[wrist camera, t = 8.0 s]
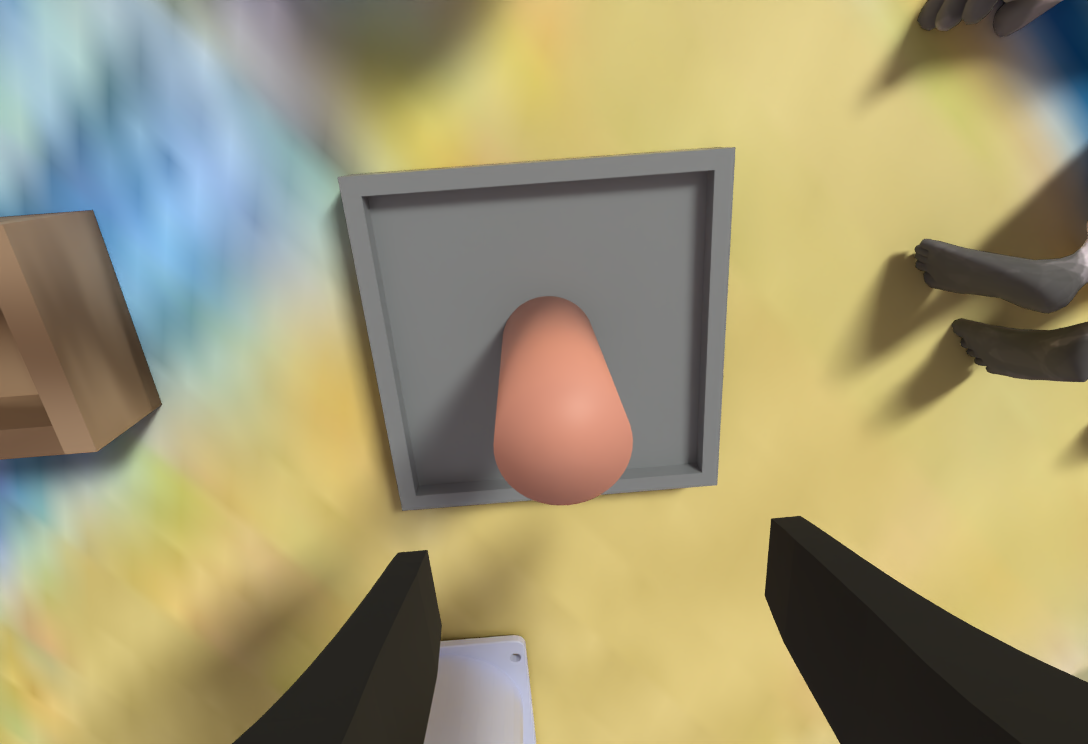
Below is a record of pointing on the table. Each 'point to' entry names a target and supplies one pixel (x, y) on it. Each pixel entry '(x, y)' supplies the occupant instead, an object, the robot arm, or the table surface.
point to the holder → (65, 340)
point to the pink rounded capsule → (557, 407)
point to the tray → (535, 271)
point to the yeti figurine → (1006, 277)
